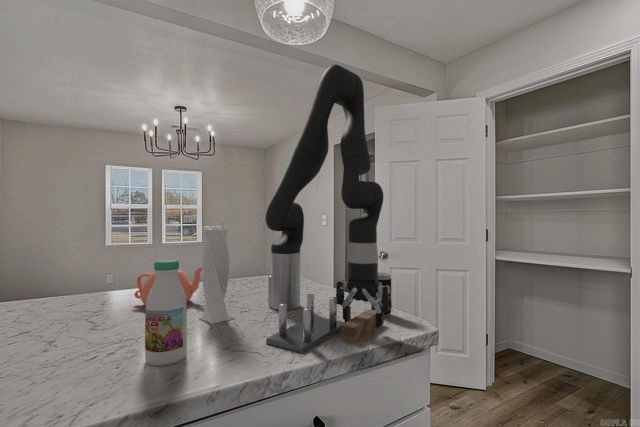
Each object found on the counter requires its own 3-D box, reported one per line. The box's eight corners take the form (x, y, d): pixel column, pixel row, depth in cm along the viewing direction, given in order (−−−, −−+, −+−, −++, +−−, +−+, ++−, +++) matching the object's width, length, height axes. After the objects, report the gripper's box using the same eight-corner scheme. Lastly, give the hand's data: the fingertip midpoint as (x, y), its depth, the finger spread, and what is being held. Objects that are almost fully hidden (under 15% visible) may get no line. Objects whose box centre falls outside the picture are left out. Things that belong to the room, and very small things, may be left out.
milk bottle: (154, 351, 73) (154, 258, 73) (191, 350, 74) (191, 257, 74) (138, 367, 66) (138, 263, 66) (179, 366, 66) (180, 263, 66)
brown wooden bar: (353, 343, 79) (354, 328, 79) (340, 340, 81) (340, 325, 81) (379, 324, 92) (379, 311, 92) (367, 321, 94) (367, 309, 94)
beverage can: (391, 318, 97) (391, 276, 97) (370, 317, 98) (371, 275, 98) (390, 312, 103) (391, 272, 103) (371, 311, 104) (372, 272, 104)
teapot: (209, 296, 122) (209, 261, 122) (201, 308, 106) (202, 268, 106) (142, 298, 118) (142, 262, 118) (125, 311, 103) (125, 270, 103)
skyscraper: (237, 321, 95) (238, 220, 95) (211, 328, 89) (211, 220, 89) (221, 314, 101) (221, 219, 101) (195, 320, 95) (195, 220, 95)
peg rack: (266, 343, 78) (266, 307, 78) (313, 320, 95) (313, 290, 95) (302, 353, 73) (302, 314, 73) (345, 326, 90) (345, 295, 90)
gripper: (330, 260, 87) (330, 324, 87) (384, 264, 80) (384, 334, 80) (344, 256, 93) (344, 316, 93) (394, 260, 86) (395, 325, 86)
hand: (362, 324), depth 86 cm, fingers open, 8 cm apart
